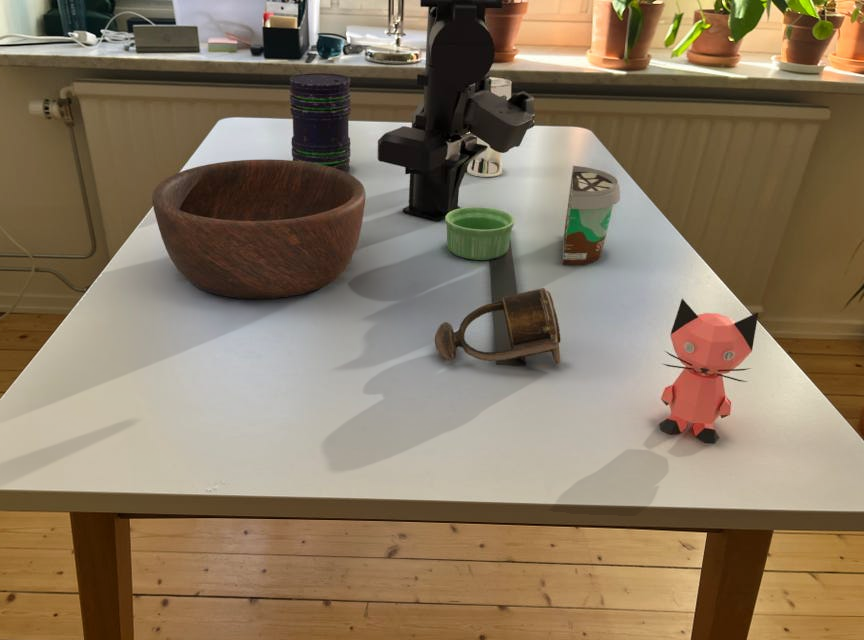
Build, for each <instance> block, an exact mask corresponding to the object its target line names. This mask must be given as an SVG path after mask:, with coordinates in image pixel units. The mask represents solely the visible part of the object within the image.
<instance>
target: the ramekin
mask: <svg viewBox="0 0 864 640" xmlns="http://www.w3.org/2000/svg"><path fill="white" fill-rule="evenodd" d="M444 222H445V225H446V246H447V249H448V250H449V251H450V253H452V254H453V255H455V256H457V257H460V258H462V259H468V260H474V261H485V260H490V259H494V258H498V257H500V256H502V255H504V254H505V253H506V252H507V250H508V247H509V241H510V240H511V235H512V229H513V227H514V225H515V218H514V217H513V215H512V214H510V213H509V212H506V211H504V210H501V209H497V208H492V207H485V206H484V207H483V206H470V207H461V208H460V209H456V210H453V211H451V212H449V213H448V214H447V215H446V216H445V218H444Z"/></svg>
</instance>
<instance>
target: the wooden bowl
mask: <svg viewBox="0 0 864 640" xmlns="http://www.w3.org/2000/svg"><path fill="white" fill-rule="evenodd" d="M366 197H367V196H366V190H365V186H364V184H363V183H362V182H361V181H360V180H359V179H358V178H356V177H355V176H354V175H352V174H351V173H346V172H344V171H341V170H339V169H336V168H332V167H329V166H325V165H320V164H315V163H309V162H301V161H293V160H290V159H269V158H268V159H266V158H265V159H264V158H263V159H262V158H261V159H241V160H230V161H221V162H214V163H208V164H204V165H199V166H195V167H191V168H188V169H185V170H182V171H179V172H176V173H174V174H172V175H170V176H168V177H166V178H165V179H163V180H162V181H160V183H158V184H157V185H156V187H155V188H154V189H153V192H152V196H151V202H152V207H153V212H154V215H155V220H156V223H157V227H158V230H159V235H160V237H161V240H162V242H163V245H164V247H165V250H166V252H167V254H168V256H169V258H170V260H171V261H172V263H173V265H174V266H175V267H176V269H177V270H178V272H179V273H180V274H181V275H182V276H183V277H184V279H185V280H187V281H188V282H189V283H191V284H192V285H194V286H195V287H197V288H199V289H201V290H202V291H205V292H208V293H211V294H214V295H218V296H223V297H228V298H235V299H246V300H267V299H281V298H289V297H293V296H294V297H295V296H298V295H299V296H300V295H303V294H307V293H310V292H314V291H316V290H319V289H321V288H323V287H325V286H327V285H329V284H330V283H332V282H333V281H335V280H336V279H338V277H340V276H341V274H342V273H343V272H344V271H345V270H346V268H347V266H348V265H349V264H350V262H351V259H352V257H353V256H354V254H355V251H356V249H357V246H358V243H359V240H360V235H361V230H362V225H363V219H364V214H365V213H364V212H365V206H366Z"/></svg>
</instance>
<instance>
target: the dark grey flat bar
mask: <svg viewBox="0 0 864 640" xmlns="http://www.w3.org/2000/svg"><path fill="white" fill-rule="evenodd" d="M512 249H513V248H512V241H511V239H510V241H509V247H508V250H507V252H506V253H505V254H504V255H502V256H500V257H498V258H494V259H489V271H490V287H491V288H490V289H491V303H494V302H499V301H502V298H503V297H505V296H510V295H515V294H518V287H517V280H516V272H515V263H514V257H513V250H512ZM492 315H493V316H492V318H493V319H492V320H493V333H494V349H495V351H494V352H500V351H504V350H509V349H511V346H510V340H509V335H508V330H507V323H506V318H505V314H504V311H503V310H499V311H494V312H492ZM495 364H496V365H498V366H499V365H501V366H515V367H517V366H518V367H527V356H526V357H522V358H517V359H516V358H511V359H506V360H497V361H495Z"/></svg>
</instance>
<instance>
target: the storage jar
mask: <svg viewBox="0 0 864 640" xmlns="http://www.w3.org/2000/svg"><path fill="white" fill-rule="evenodd" d="M289 84H290V89H289V91H290V92H289V93H290V94H289V103H290V109H289V110H290V114H291V116H292V137H291V142H290V143H291V157H292V161H301V162H309V163H315V164H320V165H325V166H329V167H332V168H336V169H339V170H341V171H344V172H346V173H348V174H350V171H351V167H350V163H351V159H350V158H351V152H352V151H351V138H350V136H349V116H350V115H351V110H352V109H351V88H350V86H351V79H350V77H349V76H346V75H342V74H336V73H325V72H324V73H323V72H319V73H318V72H315V73H313V72H312V73H301V74H295V75H293V76H291V77H290V78H289Z"/></svg>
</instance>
